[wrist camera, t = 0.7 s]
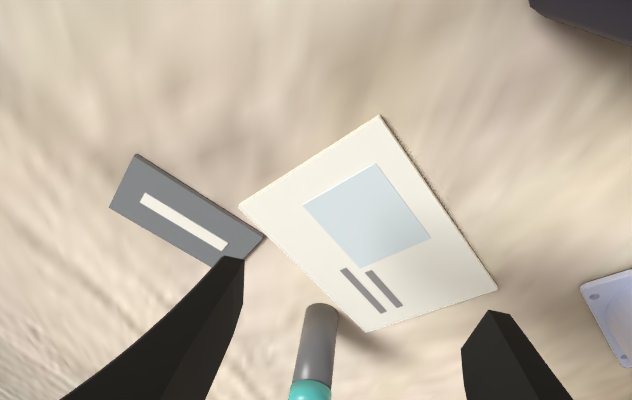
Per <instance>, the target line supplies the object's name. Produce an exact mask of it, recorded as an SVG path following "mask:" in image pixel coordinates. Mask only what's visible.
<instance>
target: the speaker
mask: <svg viewBox="0 0 632 400" xmlns="http://www.w3.org/2000/svg"><path fill="white" fill-rule="evenodd" d="M529 3H530V7H531V8H533V9H534V10H536V11H537V12H538V13H540V14H541V15H543V16H544V17H546V18H549V19H552V20H555V21H558V22H561V23H564V24H567V25H570V26H573V27H575V28H578V29H581V30H584V31H587V32H590V33H593V34H596V35H599V36H602V37H605V38H608V39H611V40H614V41H617V42H620V43H622V44H625V45H628V46H631V47H632V0H529Z"/></svg>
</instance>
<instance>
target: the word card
mask: <svg viewBox="0 0 632 400" xmlns="http://www.w3.org/2000/svg"><path fill="white" fill-rule="evenodd" d="M109 208H110V209H112V210H114V211H115V212H117V213H119V214H121V215H122V216H124V217H126V218H128V219H129V220H131V221H133V222H134V223H136V224H138V225H140V226H141V227H143V228H145V229H146V230H148V231H150V232H152V233H153V234H155V235H157V236H159V237H160V238H162V239H164V240H165V241H167V242H169V243H171V244H172V245H174V246H176V247H178V248H179V249H181V250H183V251H184V252H186V253H188V254H190V255H191V256H193V257H195V258H196V259H198V260H200V261H202V262H203V263H205V264H207V265H209V266H210V267H213V266H214V265H215V264H216V263H217V261H218V260H219V259H220V258H221V257H223V256H224V255H225V256H230V257H235V258H239V259H244V258H245V256H246V255H247V254H248V253H249V252H250V251H251V250H252V249H253V248H254V247H255V246H256V245H257V244H258V243H259V242H260V241H261V239H262V238H263V236H264V234H262V233H260V232H259V231H257V230H256V229H254V228H253V227H251V226H249V225H248V224H246V223H245V222H243V221H242V220H240V219H238V218H237V217H235V216H234V215H232V214H230V213H229V212H227V211H226V210H224V209H223V208H221V207H219V206H218V205H216V204H215V203H213V202H212V201H210V200H208V199H207V198H205V197H204V196H202V195H201V194H199V193H197V192H196V191H194V190H193V189H191V188H190V187H188V186H186V185H185V184H183V183H182V182H180V181H179V180H177V179H175V178H174V177H172V176H171V175H169V174H168V173H166V172H164V171H163V170H161V169H160V168H158V167H157V166H155V165H153V164H152V163H150V162H149V161H147V160H146V159H144V158H142V157H141V156H139V155H138V154H135V155H134V156H133V158H132V160H131V163H130V165H129V167H128V169H127V171H126V173H125V175H124V177H123V179H122V181H121V183H120V185H119V187H118V189H117V191H116V194H115V196H114V198H113V200H112V202H111V204H110V206H109Z"/></svg>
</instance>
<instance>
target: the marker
mask: <svg viewBox="0 0 632 400" xmlns="http://www.w3.org/2000/svg"><path fill="white" fill-rule="evenodd" d="M337 324H338V312H337V311H336V310H335V309H334V308H333V307H332V306H330V305H327V304H322V303H317V304H312V305H310V306H309V307H308V308H307V309H306V313H305V318H304V323H303V329H302V334H301V339H300V344H299V350H298V355H297V360H296V365H295V371H294V376H293V381H292V385H291V387H290V393H289V398H288V400H331V385H332V375H333V365H334V354H335V344H336V334H337Z"/></svg>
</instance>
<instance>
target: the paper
mask: <svg viewBox="0 0 632 400" xmlns="http://www.w3.org/2000/svg"><path fill="white" fill-rule="evenodd" d="M238 208H239V209H240V210H241V211H242V212H243V213H244V214H245V215H246V216H247V217H248V218H249V219H250V220H251V221H252V222H253V223H254V224H255V225H256V226H257V227H258V228H259V229H260V230H261V231H262V232H263V233H264V234H265V235H266V236H267V237H268V238H269V239H270V240H271V241H273V242H274V243H275V244H276V245H277V246H278V247H279V248H280V249H281V250H282V251H283V252H284V253H285V254H286V255H287V256H288V257H289V258H290V259H291V260H292V261H293V262H294V263H295V264H296V265H297V266H298V267H299V268H300V269H301V270H302V271H303V272H304V273H305V274H306V275H307V276H308V277H309V278H310V279H311V280H312V281H313V282H314V283H315V284H316V285H317V286H318V287H319V288H320V289H321V290H322V291H323V292H324V293H325V294H326V295H327V296H328V297H330V298H331V299H332V300H333V301H334V302H335V303H336V304H337V305H338V306H339V307H340V308H341V309H342V310H343V311H344V312H345V313H346V314H347V315H348V316H349V317H350V318H351V319H352V320H353V321H354V322H355V323H356V324H357V325H358V326H359V327H360V328H361V329H362V330H363V331H364V332H365V333H368V332H371V331H374V330H377V329H380V328H383V327H386V326H389V325H392V324H395V323H398V322H401V321H404V320H407V319H411V318H414V317H417V316H420V315H423V314H426V313H429V312H432V311H435V310H438V309H441V308H444V307H447V306H450V305H453V304H456V303H459V302H462V301H465V300H468V299H472V298H475V297H478V296H481V295H484V294H487V293H490V292H493V291H496V290H498V287H497V285H496V283H495V282H494V280H493V279H492V277H491V276H490V274H489V273H488V272H487V270H486V269H485V267H484V266H483V264H482V263H481V261H480V260H479V258H478V257H477V256H476V254H475V253H474V251H473V250H472V248H471V247H470V245H469V244H468V242H467V241H466V240H465V238H464V237H463V235H462V234H461V232H460V231H459V229H458V228H457V226H456V225H455V224H454V222H453V221H452V219H451V218H450V216H449V215H448V213H447V212H446V210H445V209H444V208H443V206H442V205H441V203H440V202H439V200H438V199H437V197H436V196H435V194H434V193H433V192H432V190H431V189H430V187H429V186H428V184H427V183H426V181H425V180H424V178H423V177H422V176H421V174H420V173H419V171H418V170H417V168H416V167H415V165H414V164H413V162H412V161H411V160H410V158H409V157H408V155H407V154H406V152H405V151H404V149H403V148H402V146H401V145H400V144H399V142H398V141H397V139H396V138H395V136H394V135H393V133H392V132H391V130H390V129H389V128H388V126H387V125H386V123H385V122H384V120H383V119H382V117H381V116H380V114H379V115H378V116H376V117H374V118H373V119H371V120H370V121H368V122H367V123H365V124H363V125H362V126H360V127H359V128H357V129H356V130H354V131H353V132H351V133H349V134H348V135H346V136H345V137H343V138H342V139H340V140H338V141H337V142H335V143H334V144H332V145H331V146H329V147H327V148H326V149H324V150H323V151H321V152H320V153H318V154H317V155H315V156H313V157H312V158H310V159H309V160H307V161H306V162H304V163H302V164H301V165H299V166H298V167H296V168H295V169H293V170H291V171H290V172H288V173H287V174H285V175H284V176H282V177H281V178H279V179H277V180H276V181H274V182H273V183H271V184H270V185H268V186H266V187H265V188H263V189H262V190H260V191H259V192H257V193H255V194H254V195H252V196H251V197H249V198H248V199H246V200H245V201H243V202H241V203H240V204H239V206H238Z"/></svg>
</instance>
